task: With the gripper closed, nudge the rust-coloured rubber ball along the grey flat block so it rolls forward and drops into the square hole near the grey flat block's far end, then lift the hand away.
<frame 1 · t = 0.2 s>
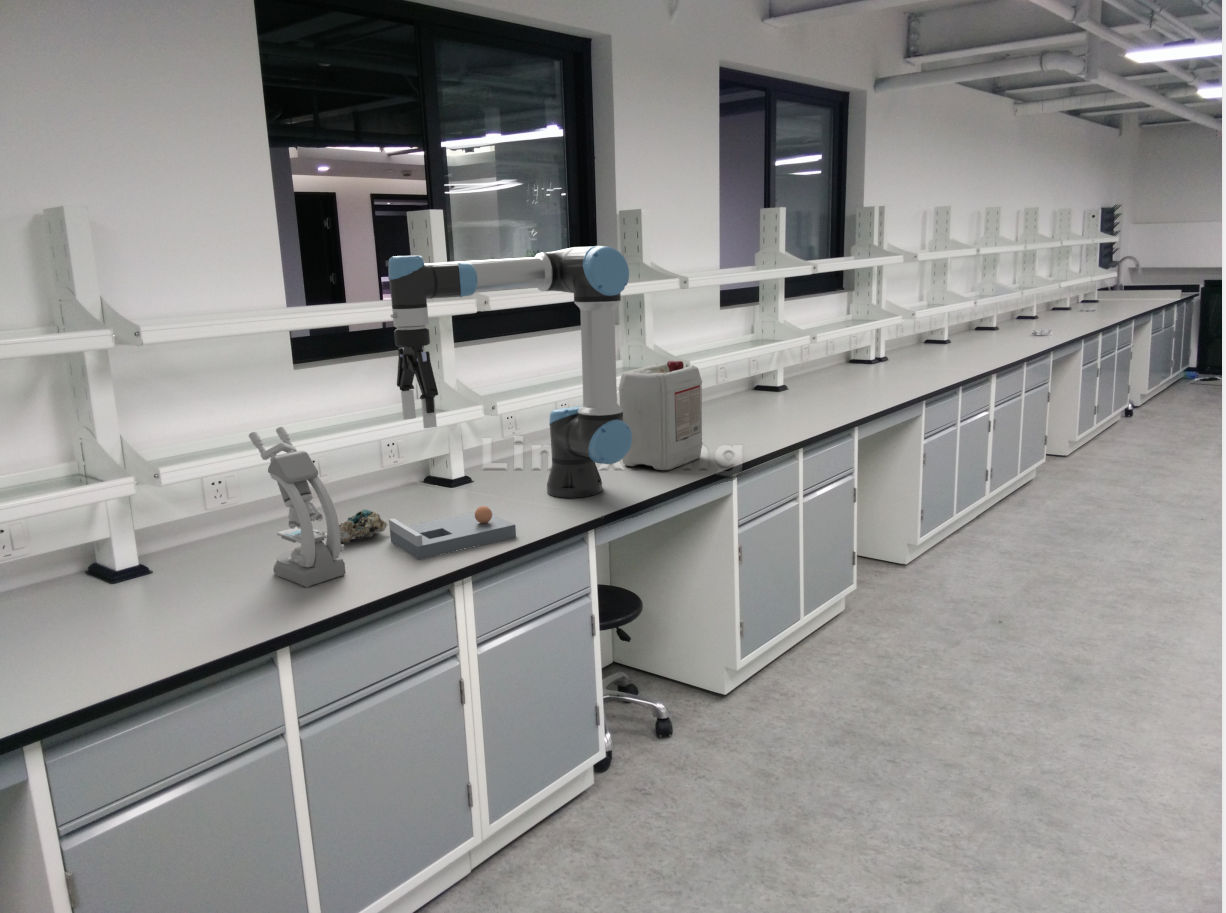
hand: (419, 423, 202), 27 cm above the lab bench, fingers open, 13 cm apart
ball: (483, 514, 209), point 5 cm above the lab bench, touching grey flat block
mineral specimen: (359, 540, 210), on the lab bench
microscope: (305, 574, 189), on the lab bench
jerry can: (662, 462, 274), on the lab bench
grey flat block: (453, 539, 207), on the lab bench
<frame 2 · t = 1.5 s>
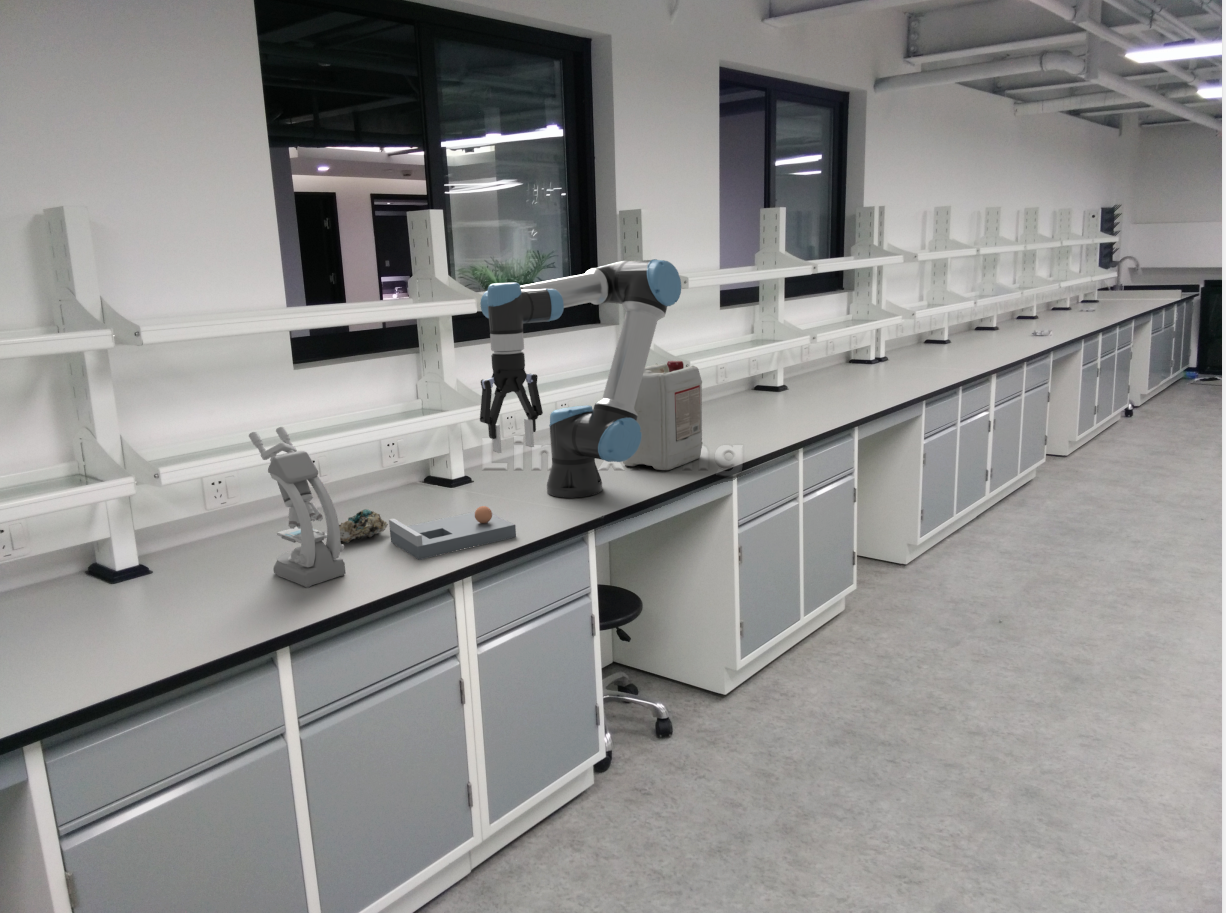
hand: (513, 448, 210), 19 cm above the lab bench, fingers open, 8 cm apart
nothing on the lab bench moved.
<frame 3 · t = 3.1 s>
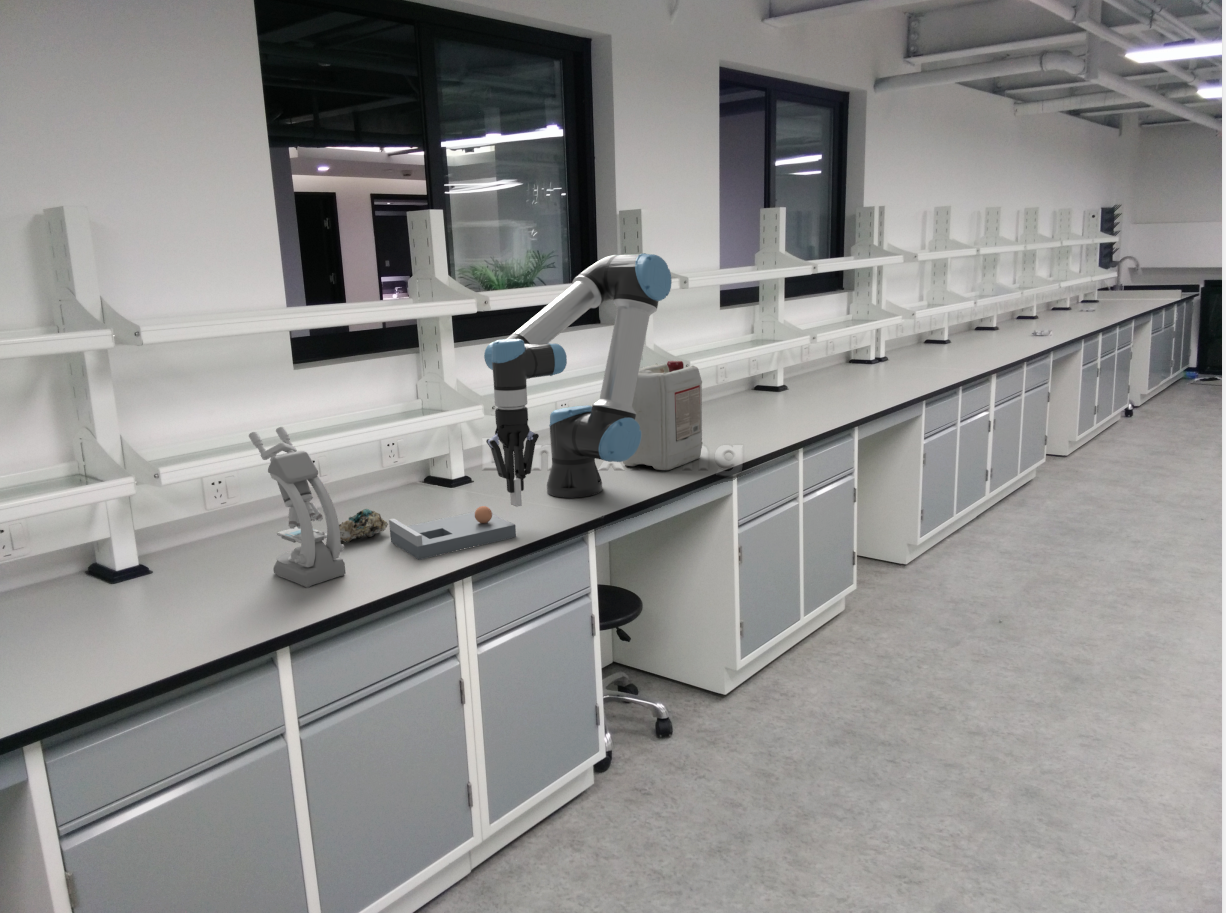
hand: (516, 504, 213), 6 cm above the lab bench, fingers closed
nothing on the lab bench moved.
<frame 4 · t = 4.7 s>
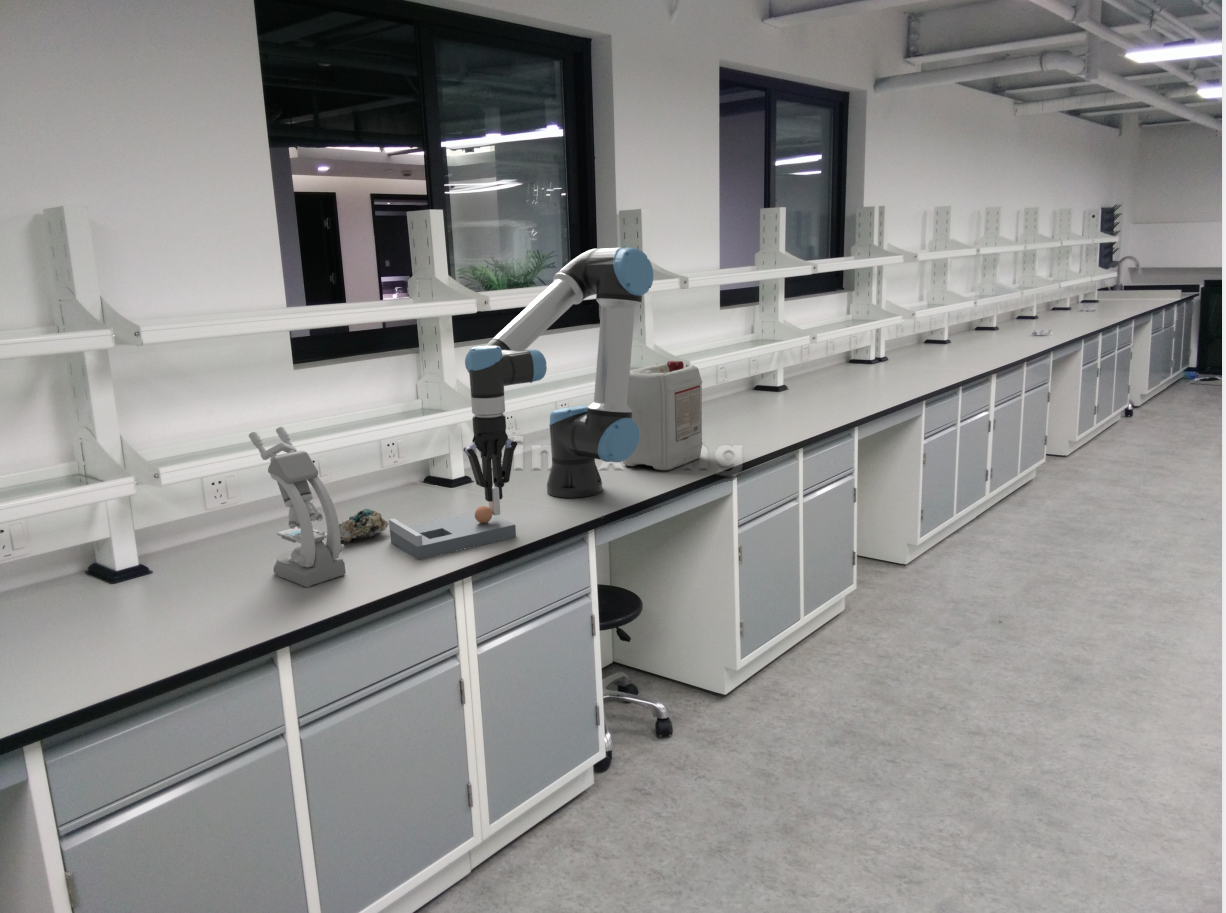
hand: (494, 513, 210), 5 cm above the lab bench, fingers closed
nothing on the lab bench moved.
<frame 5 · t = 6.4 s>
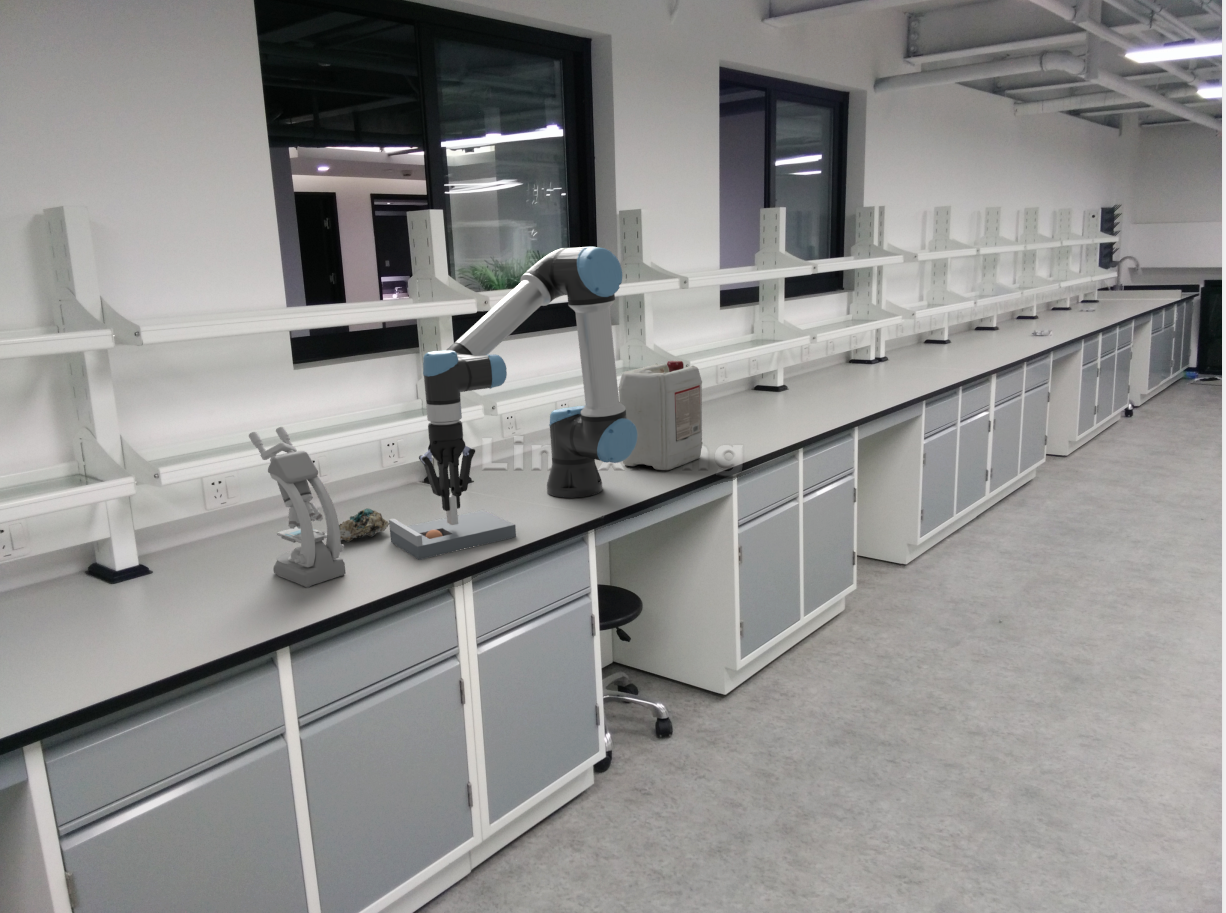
hand: (452, 523, 204), 5 cm above the lab bench, fingers closed
ball: (434, 538, 202), point 2 cm above the lab bench, tilted 34°
everything else where it was.
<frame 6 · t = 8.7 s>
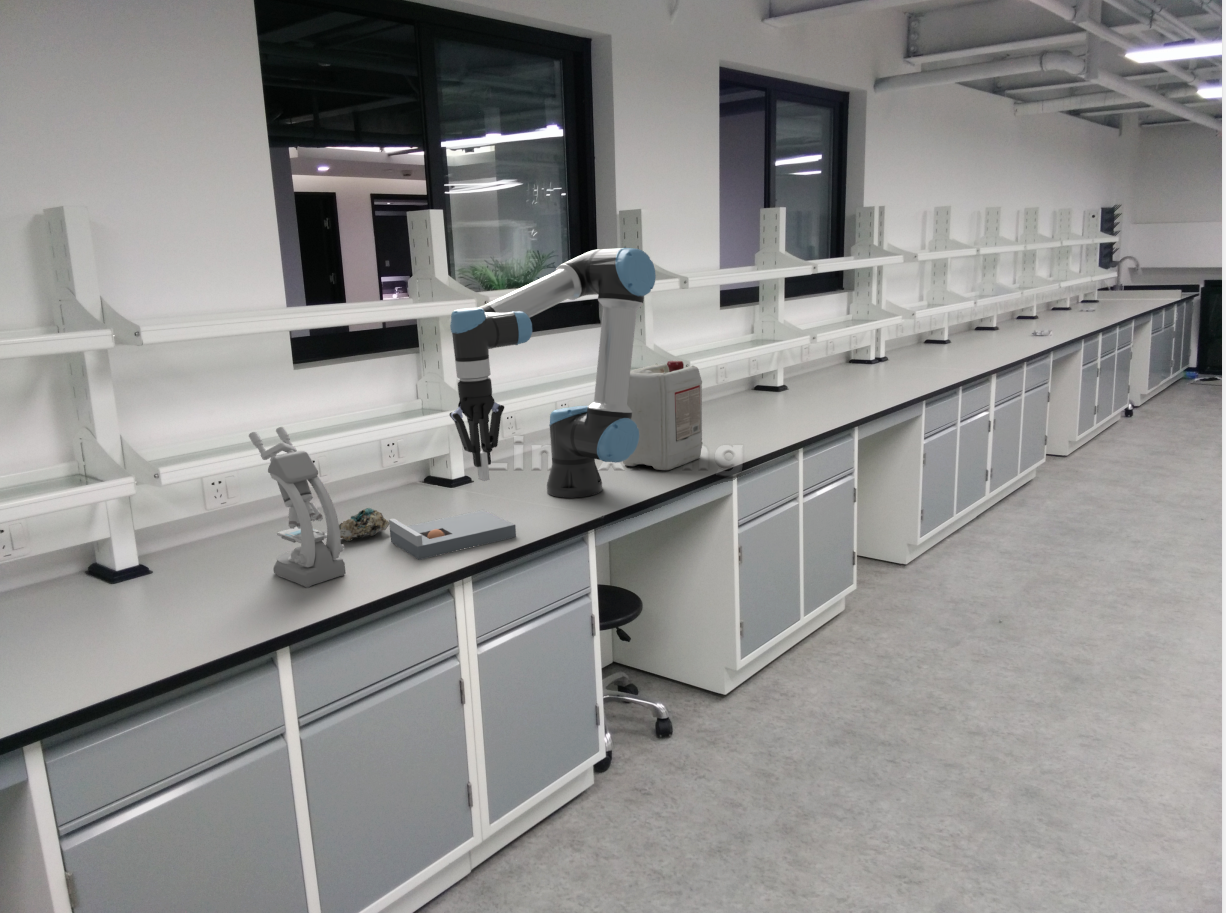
hand: (484, 479, 207), 13 cm above the lab bench, fingers closed
ball: (436, 538, 202), point 2 cm above the lab bench, tilted 19°
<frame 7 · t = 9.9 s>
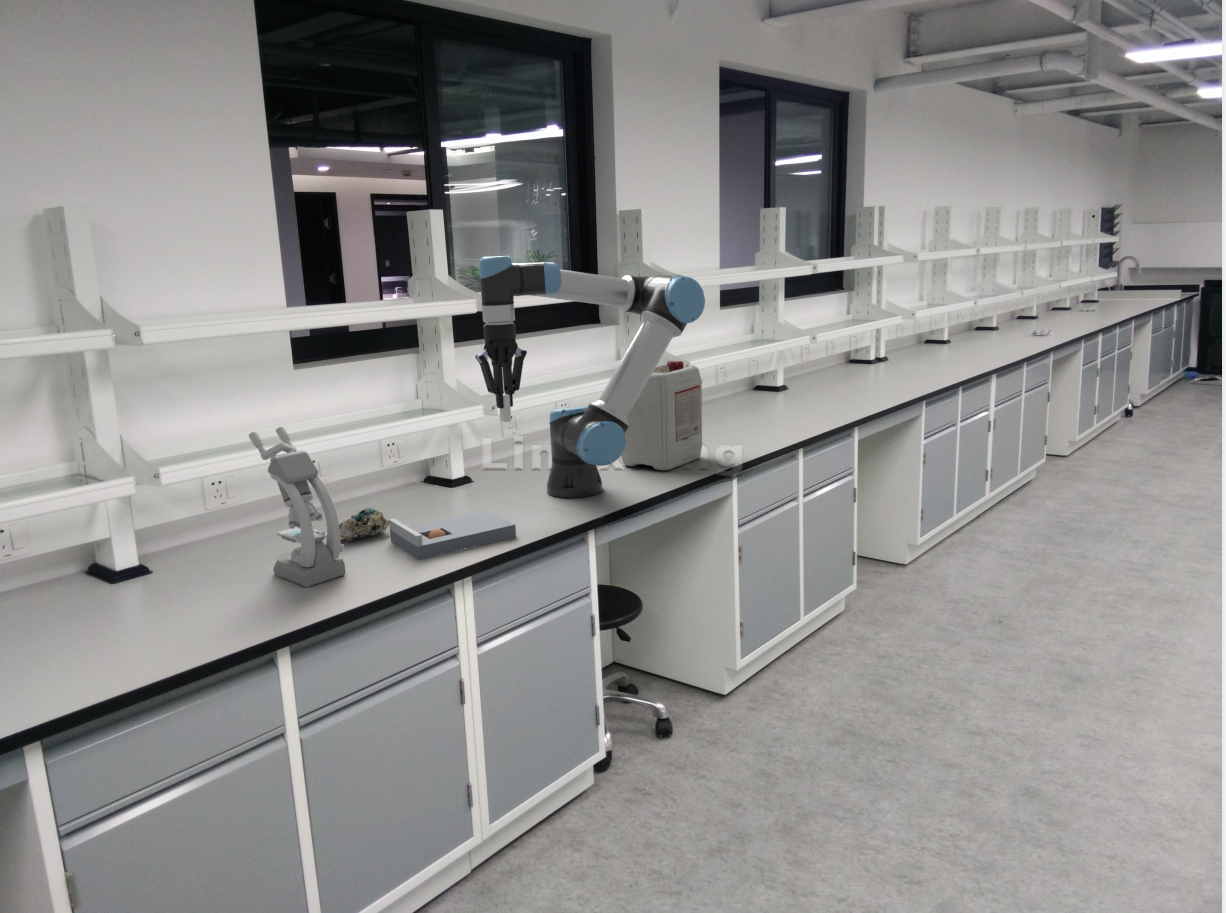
hand: (505, 420, 218), 24 cm above the lab bench, fingers closed
ball: (437, 537, 203), point 2 cm above the lab bench, tilted 12°
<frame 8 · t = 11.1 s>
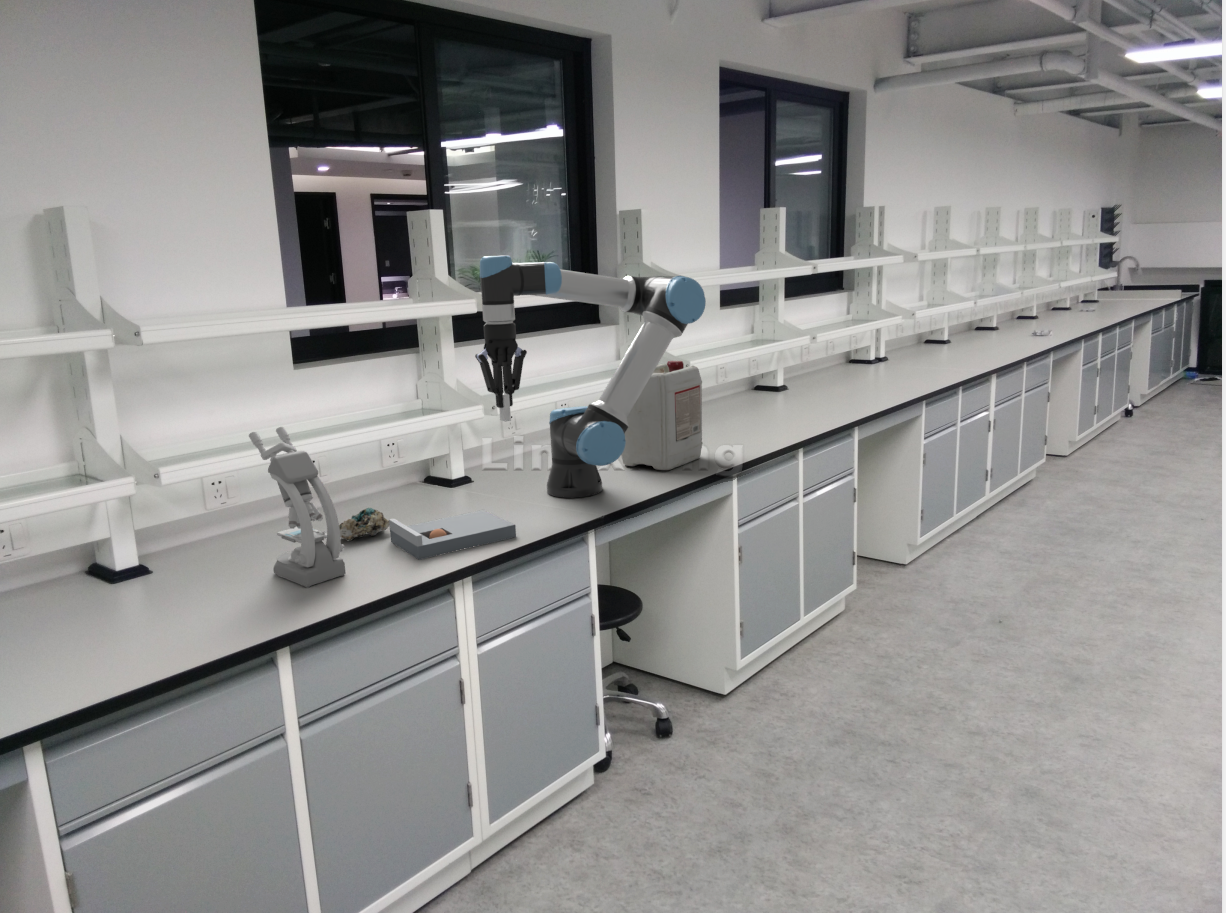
hand: (505, 420, 218), 24 cm above the lab bench, fingers closed
ball: (438, 537, 203), point 2 cm above the lab bench
at the end: ball 0.4 cm from the target spot in the grey flat block, point 2.0 cm above the grey flat block's base; the gripper is holding nothing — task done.
